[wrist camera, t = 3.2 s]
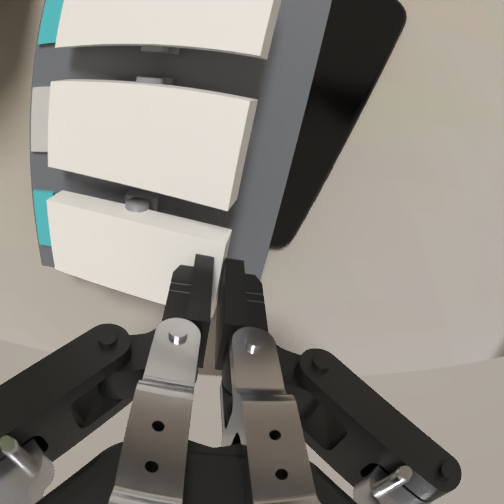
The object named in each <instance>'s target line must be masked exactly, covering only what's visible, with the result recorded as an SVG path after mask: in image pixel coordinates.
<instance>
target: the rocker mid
mask: <svg viewBox="0 0 504 504" xmlns="http://www.w3.org/2000/svg"><path fill="white" fill-rule="evenodd" d="M163 81H164V78H156V77H137V78H136V82H133V81H118V80H96V79H67V80H58V81H51V85H50V97H49V114H48V167H52V168H56V169H61V170H65V171H70V172H74V173H78V174H83V175H87V176H91V177H95V178H100V179H104V180H108V181H112V182H116V183H120V184H124V185H128V186H132V187H136V188H140V189H144V190H148V191H152V192H156V193H160V194H164V195H168V196H172V197H176V198H179V199H183V200H187V201H191V202H195V203H198V204H202V205H206V206H210V207H213V208H217V209H221V210H224V211H228V210H229V209H230V208H231V206H232V205H233V204H234V202H235V201H236V200H237V197H238V192H239V187H240V182H241V177H242V172H243V168H244V163H245V158H246V153H247V149H248V144H249V139H250V135H251V130H252V125H253V121H254V116H255V112H256V107H257V102H258V100H257V99H252V98H247V97H242V96H237V95H232V94H226V93H221V92H215V91H209V90H203V89H196V88H189V87H182V86H174V85H165V84H163Z"/></svg>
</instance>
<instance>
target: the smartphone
mask: <svg viewBox="0 0 504 504" xmlns="http://www.w3.org/2000/svg"><path fill="white" fill-rule="evenodd" d="M406 17H407V16H406V11H405V9H404V7H403V6H402V4H401V3H400V2H399V1H398V0H332V2H331V6H330V10H329V15H328V19H327V23H326V27H325V31H324V35H323V40H322V44H321V48H320V52H319V56H318V60H317V64H316V68H315V72H314V76H313V80H312V84H311V88H310V92H309V96H308V100H307V104H306V108H305V112H304V116H303V120H302V124H301V128H300V132H299V136H298V140H297V143H296V147H295V151H294V155H293V159H292V163H291V167H290V170H289V174H288V178H287V182H286V186H285V189H284V193H283V197H282V201H281V205H280V208H279V212H278V216H277V220H276V223H275V227H274V231H273V235H272V238H271V242H270V246H269V247H272V248H281V247H284V246H286V245H288V244H289V243H290V242H291V241H292V240H293V238H294V237H295V235H296V234H297V232H298V230H299V228H300V226H301V225H302V223H303V221H304V220H305V218H306V216H307V214H308V212H309V210H310V208H311V206H312V205H313V203H314V202H315V200H316V198H317V196H318V194H319V193H320V191H321V189H322V186H323V184H324V182H325V181H326V180H327V178H328V176H329V174H330V172H331V170H332V168H333V166H334V164H335V162H336V160H337V158H338V156H339V154H340V153H341V151H342V149H343V147H344V145H345V143H346V141H347V139H348V137H349V135H350V134H351V132H352V130H353V128H354V126H355V124H356V122H357V120H358V118H359V116H360V114H361V112H362V110H363V108H364V106H365V105H366V103H367V101H368V99H369V97H370V95H371V93H372V91H373V89H374V87H375V85H376V83H377V81H378V79H379V77H380V75H381V73H382V71H383V69H384V67H385V65H386V63H387V61H388V59H389V57H390V55H391V53H392V51H393V49H394V47H395V45H396V43H397V41H398V38H399V36H400V34H401V32H402V30H403V28H404V26H405V23H406Z"/></svg>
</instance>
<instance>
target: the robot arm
mask: <svg viewBox="0 0 504 504" xmlns="http://www.w3.org/2000/svg"><path fill="white" fill-rule="evenodd" d="M213 268H214V257H211V256H206V255H201V254H196V255H195V262H194V266H186V265H180V266H179V267H178V268H177V269H176V270H175V271H174V272H173V274H172V279H171V283H170V287H169V292H168V296H167V301H166V306H165V310H164V315H163V319H162V322H161V323H160V324H159V325H158V326H157V328H156V329H155V330H153V331H151V332H149V333H145V334H138V335H129V334H128V333H127V331H126V330H125V329H123V328H122V327H120V326H118V325H115V324H101V325H98V326H96V327H94V328H92V329H91V330H89V331H87V332H86V333H84V334H82V335H81V336H79V337H77V338H76V339H74V340H73V341H71V342H69V343H68V344H66V345H64V346H63V347H61V348H59V349H58V350H56V351H55V352H53V353H51V354H50V355H48V356H46V357H45V358H43V359H42V360H40V361H38V362H37V363H35V364H34V365H32V366H30V367H29V368H27V369H26V370H24V371H22V372H21V373H19V374H17V375H16V376H14V377H13V378H11V379H9V380H8V381H7V382H5V383H3V384H2V385H0V504H430V503H431V502H432V501H434V500H435V499H437V498H439V497H441V496H443V495H445V494H447V493H448V492H450V491H452V490H454V489H455V488H456V487H457V486H458V485H459V483H460V480H461V468H460V465H459V463H458V462H457V460H456V459H455V458H454V457H453V456H451V455H450V454H449V453H448V452H447V451H445V450H444V449H443V448H442V447H440V446H439V445H438V444H437V443H436V442H434V441H433V440H432V439H431V438H430V437H428V436H427V435H426V434H425V433H424V432H422V431H421V430H420V429H419V428H418V427H416V426H415V425H414V424H413V423H412V422H410V421H409V420H408V419H407V418H406V417H405V416H403V415H402V414H401V413H400V412H399V411H397V410H396V409H395V408H394V407H393V406H392V405H390V404H389V403H388V402H387V401H386V400H384V399H383V398H382V397H381V396H380V395H379V394H378V393H376V392H375V391H374V390H373V389H372V388H371V387H369V386H368V385H367V384H366V383H365V382H364V381H362V380H361V379H360V378H359V377H358V376H357V375H356V374H354V373H353V372H352V371H351V370H350V369H349V368H347V367H346V366H345V365H344V364H343V363H342V362H341V361H339V360H338V359H337V358H336V357H335V356H334V355H332V354H331V353H329V352H328V351H325V350H322V349H315V348H314V349H309V350H306V351H305V352H304V353H303V354H302V355H298V354H295V353H292V352H289V351H287V350H284V349H282V348H280V347H279V346H277V345H276V343H275V341H274V339H273V337H272V336H271V335H270V334H269V333H268V326H267V319H266V311H265V303H264V296H263V288H262V283H261V282H260V280H259V279H258V278H257V276H256V275H252V274H245V267H244V260H237V259H230V258H225V260H224V265H223V270H222V275H221V281H220V286H219V292H218V300H217V321H216V352H215V369H218V370H222V381H221V385H220V400H221V418H222V444H221V447H218V448H212V447H208V446H205V445H202V444H198V443H196V442H193V441H190V440H188V435H189V427H190V418H191V409H192V401H193V392H194V384H195V383H196V380H197V374H198V367H199V368H203V362H204V356H205V350H206V344H207V338H208V332H209V326H210V317H211V299H212V283H213ZM131 401H133V402H132V406H131V410H130V414H129V419H128V423H127V427H126V432H125V436H124V441H123V442H121V443H118V444H115V445H113V446H111V447H109V448H107V449H106V450H104V451H103V452H101V453H100V454H99V455H98V456H96V457H95V458H94V459H93V460H91V461H90V462H89V463H88V464H86V465H85V466H84V467H82V468H81V469H80V470H79V471H78V472H76V473H75V474H73V475H72V476H71V477H70V478H68V479H67V480H66V481H64V482H63V483H62V484H60V485H59V486H58V487H57V488H56V489H54V490H53V491H51V492H50V493H48V494H47V495H46V496H44V497H43V493H44V491H45V489H46V488H47V487H48V486H49V485H50V484H51V482H52V480H53V478H54V466H53V463H52V462H53V461H54V460H56V459H57V458H58V457H60V456H61V455H62V454H64V453H65V452H67V451H68V450H69V449H71V448H72V447H73V446H75V445H76V444H77V443H78V442H80V441H81V440H83V439H84V438H85V437H87V436H88V435H89V434H90V433H92V432H93V431H94V430H96V429H97V428H98V427H100V426H101V425H102V424H103V423H105V422H106V421H107V420H108V419H110V418H111V417H113V416H114V415H115V414H116V413H118V412H119V411H120V410H122V409H123V408H124V407H125V406H127V405H128V404H129V403H130V402H131ZM305 442H306V443H307V444H308V445H309V446H310V447H311V448H312V449H313V450H314V451H315V452H316V453H317V454H318V455H319V456H320V457H321V458H322V459H323V460H324V461H326V462H327V463H328V464H329V465H330V466H331V467H332V468H333V469H334V470H335V471H336V472H337V473H339V474H340V475H341V476H342V477H343V478H344V479H345V480H346V481H347V482H349V483H350V484H351V485H352V486H353V487H354V490H353V496H354V497H353V499H352V498H351V497H350V496H348V495H347V494H346V493H345V492H344V491H343V490H342V489H341V488H339V487H338V486H337V485H336V484H335V483H334V482H333V481H332V480H331V479H330V478H329V477H328V476H326V475H325V474H324V473H323V472H322V471H321V470H320V469H319V468H318V467H317V466H316V465H314V464H313V463H311V462H310V461H309V458H308V454H307V449H306V444H305ZM42 497H43V498H42Z"/></svg>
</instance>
